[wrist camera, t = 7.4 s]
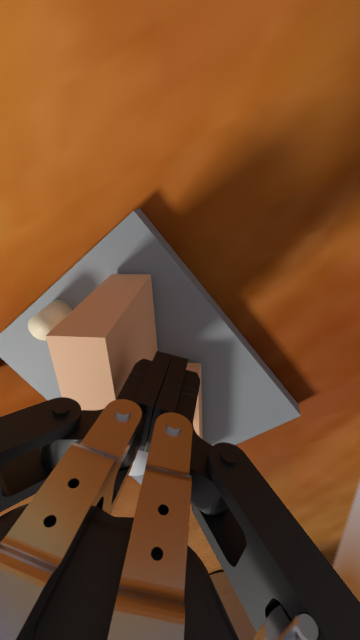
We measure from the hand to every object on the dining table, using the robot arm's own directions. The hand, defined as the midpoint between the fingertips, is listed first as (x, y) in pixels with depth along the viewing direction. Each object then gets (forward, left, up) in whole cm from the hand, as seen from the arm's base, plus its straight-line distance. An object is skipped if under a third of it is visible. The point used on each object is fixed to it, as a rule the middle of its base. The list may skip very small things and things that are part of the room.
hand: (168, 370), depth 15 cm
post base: (-2, +6, -7) cm, 9 cm away
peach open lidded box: (-2, +5, -6) cm, 8 cm away
